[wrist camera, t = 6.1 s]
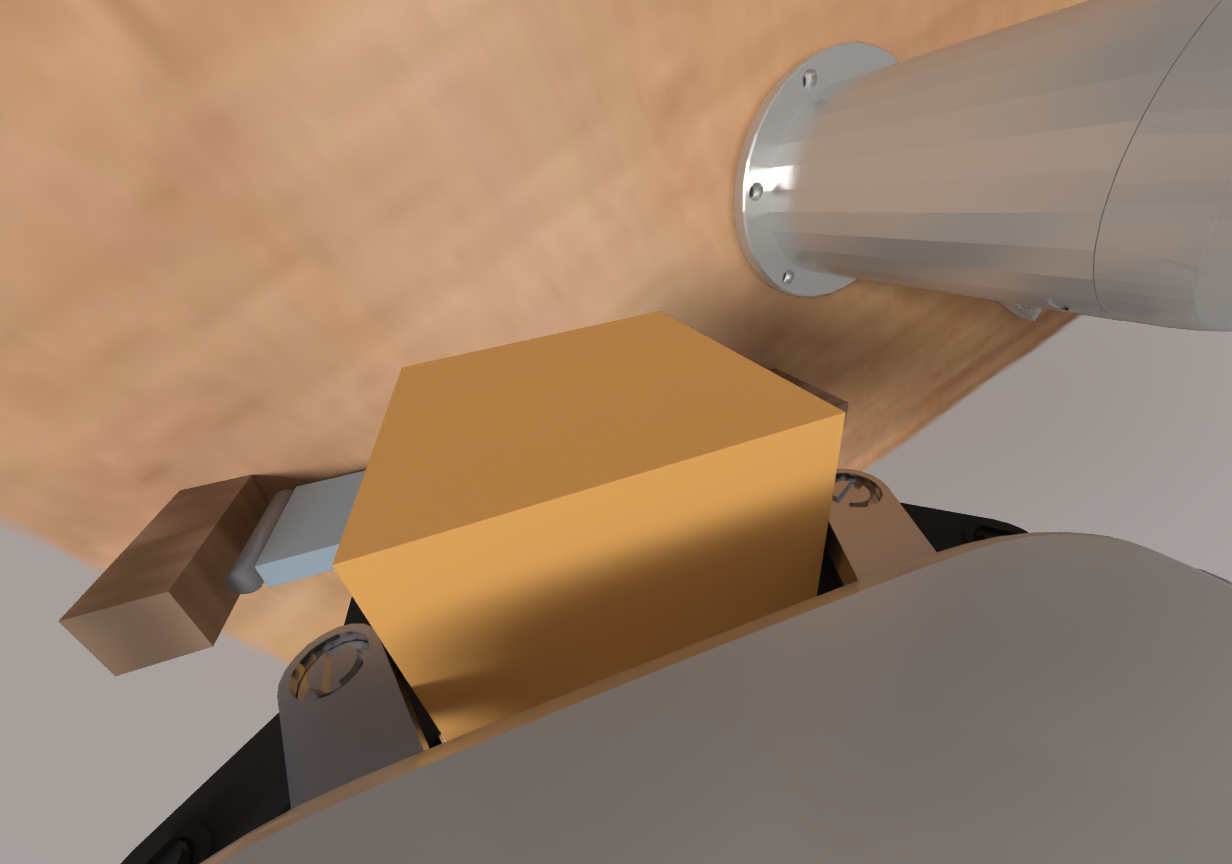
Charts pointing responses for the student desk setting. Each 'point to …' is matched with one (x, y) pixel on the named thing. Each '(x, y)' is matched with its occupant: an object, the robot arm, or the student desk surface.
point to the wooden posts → (187, 575)
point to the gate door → (296, 534)
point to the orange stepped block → (582, 511)
